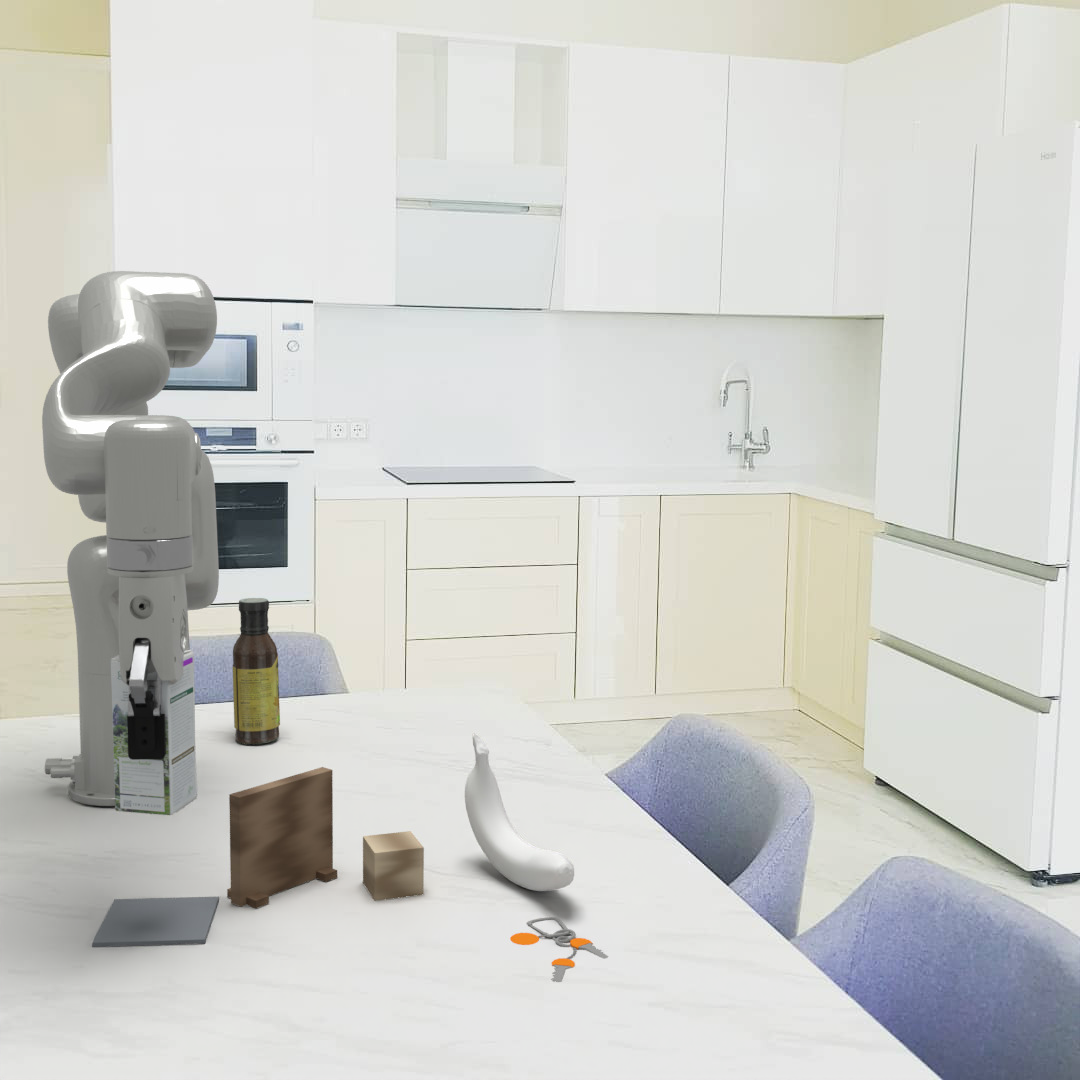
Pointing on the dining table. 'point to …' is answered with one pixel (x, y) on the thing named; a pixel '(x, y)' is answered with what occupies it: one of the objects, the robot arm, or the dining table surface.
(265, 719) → the sauce bottle
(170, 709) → the syrup box
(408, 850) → the oak cube
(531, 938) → the key chain
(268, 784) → the screen
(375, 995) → the dining table surface
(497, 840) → the banana
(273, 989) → the dining table surface
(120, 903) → the mat
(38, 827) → the dining table surface
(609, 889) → the dining table surface
